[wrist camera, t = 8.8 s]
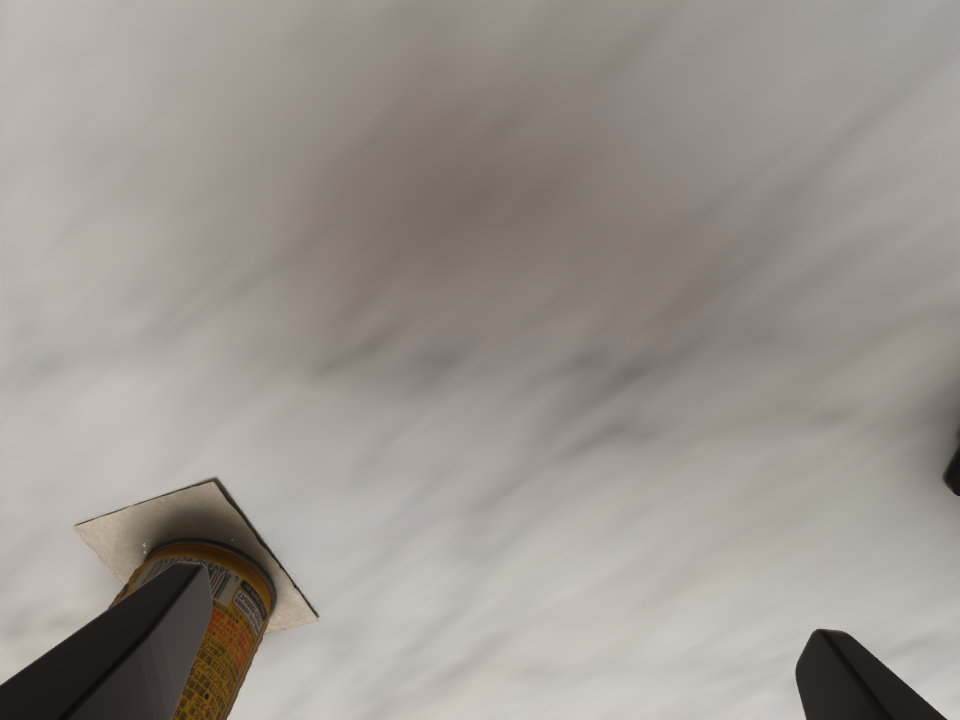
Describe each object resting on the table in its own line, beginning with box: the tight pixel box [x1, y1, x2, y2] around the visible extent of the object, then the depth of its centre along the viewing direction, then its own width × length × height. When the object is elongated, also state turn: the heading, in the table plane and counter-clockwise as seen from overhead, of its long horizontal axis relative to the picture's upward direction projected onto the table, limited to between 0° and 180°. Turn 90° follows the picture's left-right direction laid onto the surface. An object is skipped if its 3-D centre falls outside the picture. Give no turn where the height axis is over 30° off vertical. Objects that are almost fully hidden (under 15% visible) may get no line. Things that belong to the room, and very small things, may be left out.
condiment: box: [73, 482, 319, 720], centre depth 21 cm, size 7×8×12 cm
